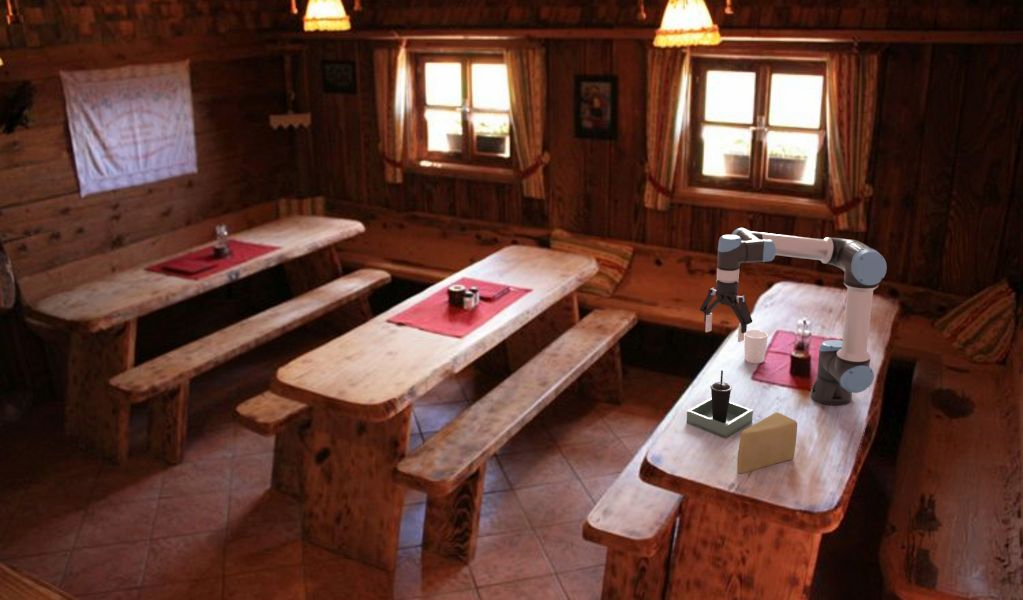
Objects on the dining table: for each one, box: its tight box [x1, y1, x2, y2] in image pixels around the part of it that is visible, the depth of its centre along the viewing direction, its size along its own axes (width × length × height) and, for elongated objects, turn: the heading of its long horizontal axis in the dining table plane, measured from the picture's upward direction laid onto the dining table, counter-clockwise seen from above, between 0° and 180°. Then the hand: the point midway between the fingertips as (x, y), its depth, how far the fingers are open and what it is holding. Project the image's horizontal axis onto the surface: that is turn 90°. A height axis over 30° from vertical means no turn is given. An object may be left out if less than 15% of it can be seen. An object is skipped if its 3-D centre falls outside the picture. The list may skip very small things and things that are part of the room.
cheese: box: [736, 411, 798, 474], centre depth 296 cm, size 22×10×15 cm, turn 122°
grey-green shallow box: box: [686, 396, 754, 439], centre depth 326 cm, size 17×17×5 cm
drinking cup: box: [710, 369, 733, 423], centre depth 323 cm, size 8×8×20 cm
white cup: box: [744, 329, 769, 364], centre depth 377 cm, size 10×10×12 cm
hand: (724, 335), depth 315 cm, fingers open, 13 cm apart
